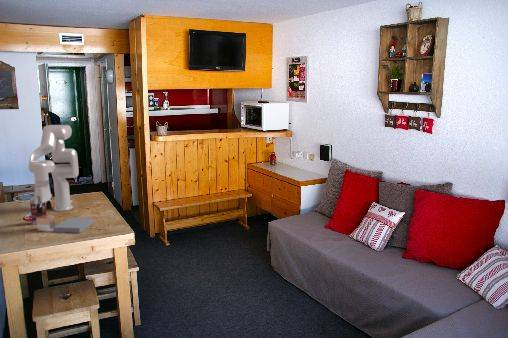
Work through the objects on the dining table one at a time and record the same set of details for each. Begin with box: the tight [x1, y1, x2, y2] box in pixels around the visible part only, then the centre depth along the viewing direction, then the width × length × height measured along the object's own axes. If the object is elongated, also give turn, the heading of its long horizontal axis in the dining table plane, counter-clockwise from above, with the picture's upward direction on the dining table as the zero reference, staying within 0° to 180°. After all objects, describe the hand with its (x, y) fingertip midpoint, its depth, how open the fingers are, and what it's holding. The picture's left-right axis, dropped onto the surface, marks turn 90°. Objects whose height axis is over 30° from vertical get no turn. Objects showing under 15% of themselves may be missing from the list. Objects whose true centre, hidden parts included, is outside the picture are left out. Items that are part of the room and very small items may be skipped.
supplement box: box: [29, 197, 47, 226], centre depth 275 cm, size 9×5×16 cm, turn 117°
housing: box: [36, 214, 56, 232], centre depth 265 cm, size 6×8×8 cm
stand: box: [53, 217, 94, 234], centre depth 269 cm, size 18×16×3 cm
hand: (44, 211), depth 262 cm, fingers open, 9 cm apart
